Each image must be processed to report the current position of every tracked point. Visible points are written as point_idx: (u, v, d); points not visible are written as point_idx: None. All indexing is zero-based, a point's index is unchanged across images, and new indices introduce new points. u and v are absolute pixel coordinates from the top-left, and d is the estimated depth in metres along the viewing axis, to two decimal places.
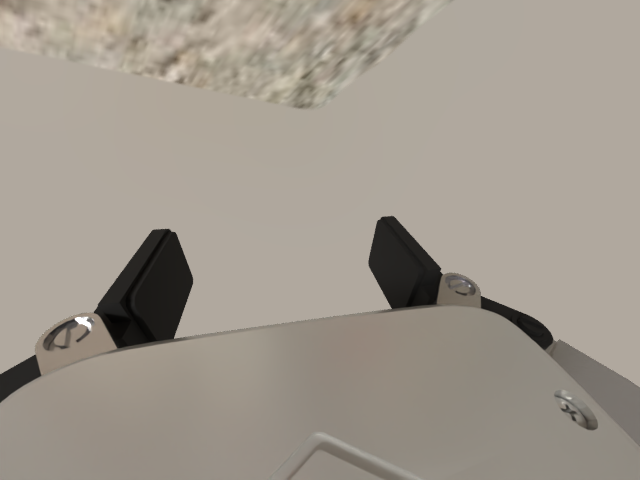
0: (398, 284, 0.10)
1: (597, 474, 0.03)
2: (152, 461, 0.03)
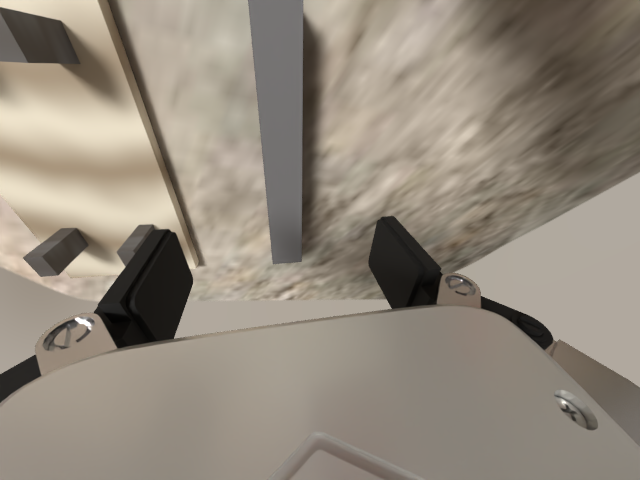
0: (398, 284, 0.10)
1: (597, 474, 0.03)
2: (152, 461, 0.03)
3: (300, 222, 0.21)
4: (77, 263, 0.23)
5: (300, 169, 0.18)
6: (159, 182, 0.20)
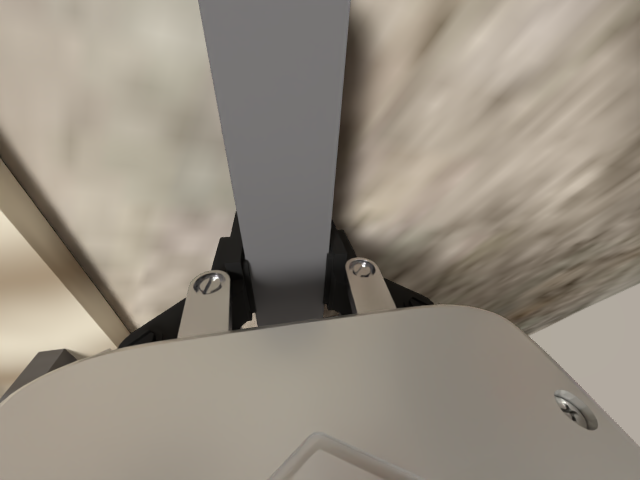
0: None
1: (597, 474, 0.03)
2: (152, 461, 0.03)
3: None
4: None
5: (322, 281, 0.09)
6: (60, 294, 0.11)
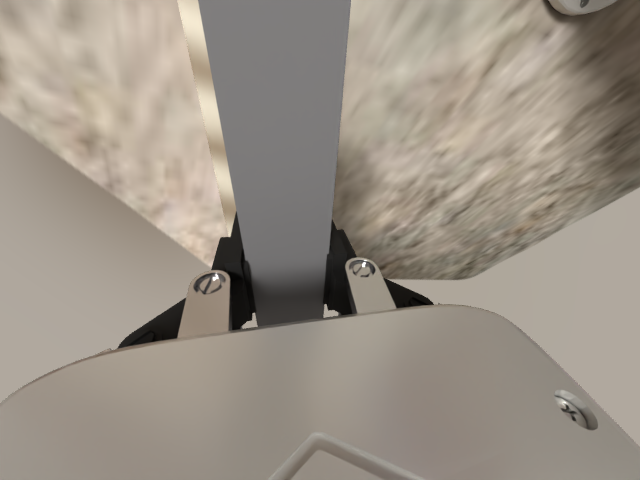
0: None
1: (597, 474, 0.03)
2: (152, 461, 0.03)
3: None
4: None
5: (322, 283, 0.09)
6: None
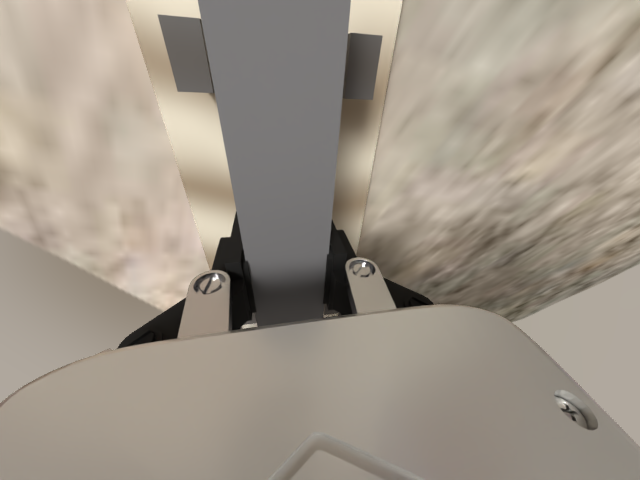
0: None
1: (597, 474, 0.03)
2: (152, 461, 0.03)
3: None
4: None
5: (322, 283, 0.09)
6: (358, 216, 0.18)
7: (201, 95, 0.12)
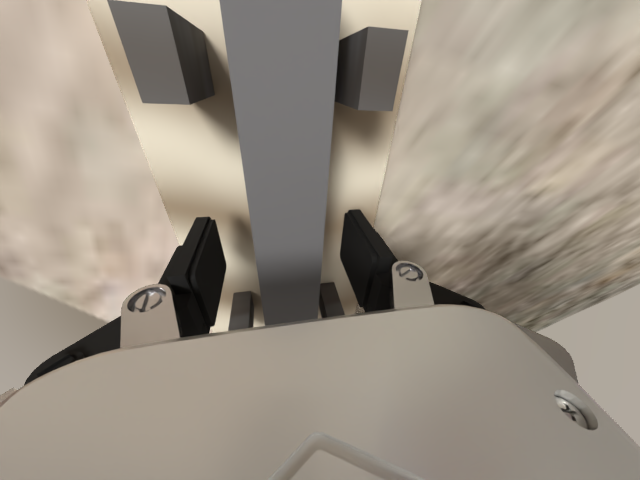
0: (359, 274, 0.10)
1: (597, 474, 0.03)
2: (152, 461, 0.03)
3: None
4: None
5: (319, 258, 0.11)
6: None
7: None
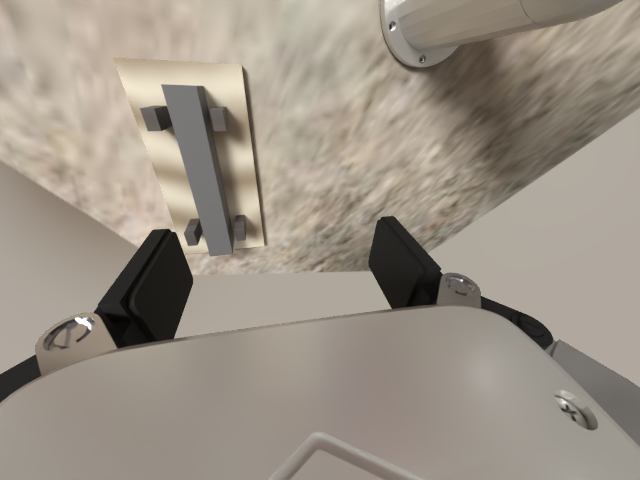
0: (398, 284, 0.10)
1: (597, 474, 0.03)
2: (152, 461, 0.03)
3: (224, 223, 0.30)
4: None
5: (216, 187, 0.27)
6: (254, 187, 0.32)
7: None
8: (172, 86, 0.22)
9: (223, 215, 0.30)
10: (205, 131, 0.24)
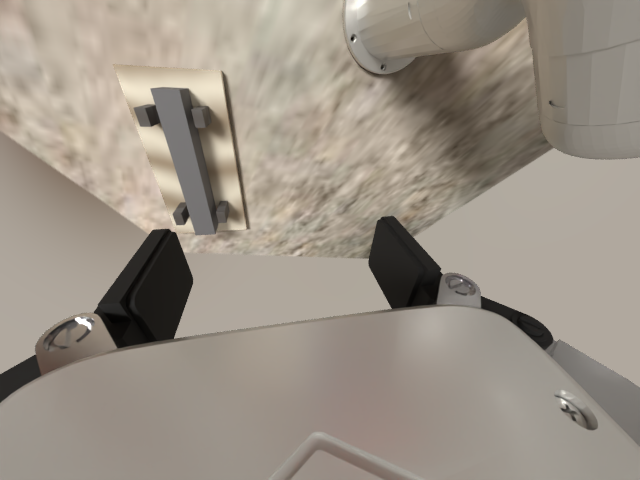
0: (398, 284, 0.10)
1: (597, 474, 0.03)
2: (152, 461, 0.03)
3: (207, 207, 0.35)
4: None
5: (199, 175, 0.32)
6: (235, 177, 0.37)
7: None
8: (159, 90, 0.26)
9: (206, 200, 0.34)
10: (188, 127, 0.29)
